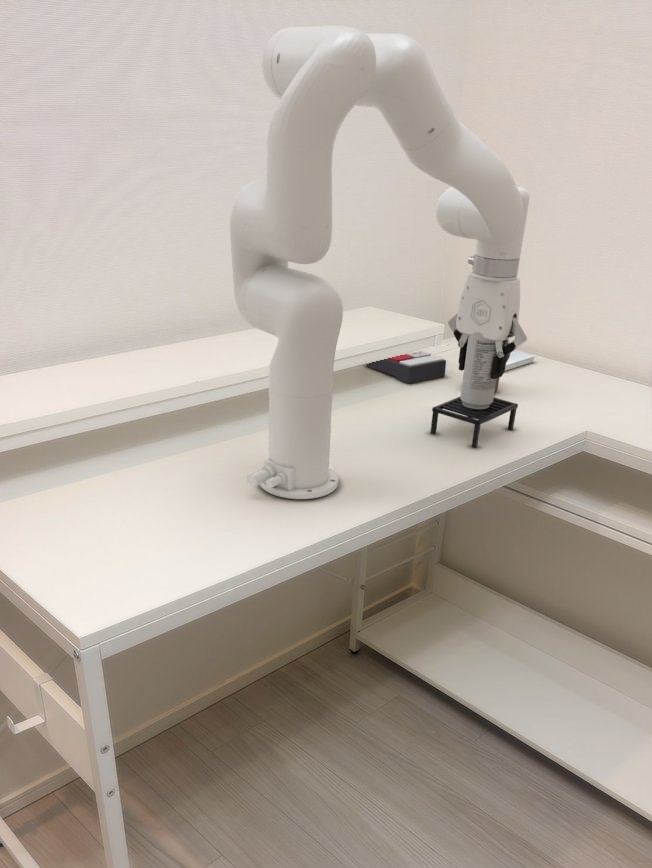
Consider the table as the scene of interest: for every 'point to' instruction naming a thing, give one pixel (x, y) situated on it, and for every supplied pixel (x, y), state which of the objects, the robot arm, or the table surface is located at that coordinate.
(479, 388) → the energy drink can
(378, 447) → the table surface
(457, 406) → the rack
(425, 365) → the calculator
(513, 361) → the hard drive
